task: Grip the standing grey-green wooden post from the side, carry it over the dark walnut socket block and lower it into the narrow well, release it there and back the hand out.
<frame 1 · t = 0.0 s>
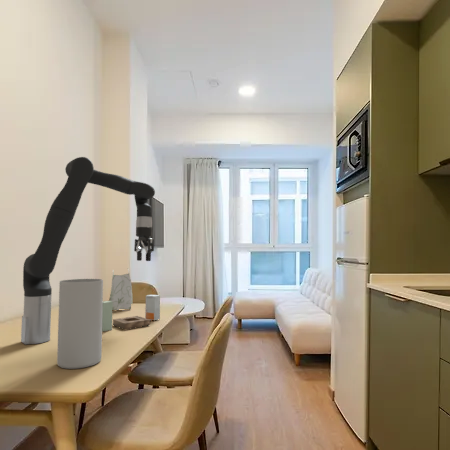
hand: (143, 260, 164), 29 cm above the table, tool pointing down, fingers open, 8 cm apart
grocery bag: (120, 306, 212), on the table
skincare box: (152, 320, 171), on the table
green post: (105, 329, 149), on the table
cylinder vase: (79, 363, 106), on the table
well block: (131, 325, 157), on the table
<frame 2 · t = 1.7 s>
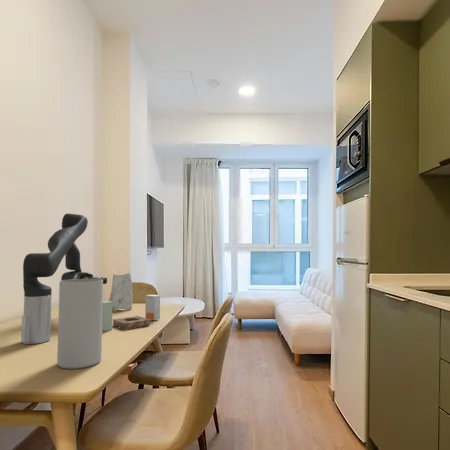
hand: (96, 282, 159), 20 cm above the table, tool horizontal, fingers open, 8 cm apart
nothing on the table moved.
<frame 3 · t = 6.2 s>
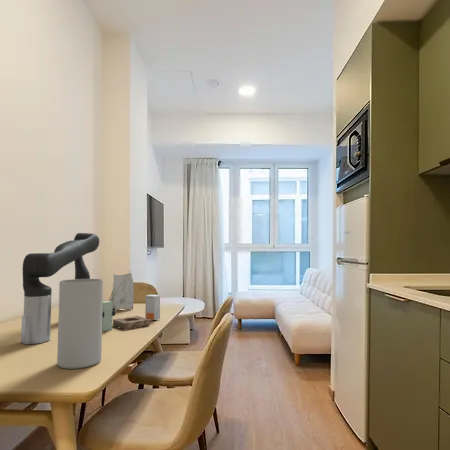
hand: (108, 314, 148), 7 cm above the table, tool horizontal, fingers closed on green post, 4 cm apart
green post: (105, 329, 149), on the table, touching gripper
everything else where it was.
when the fingers open (9 cm above the table, at t = 11.4 s): green post stays where it is, resting on well block.
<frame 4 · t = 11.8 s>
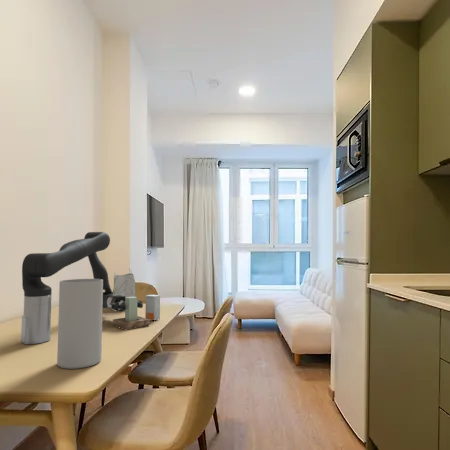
hand: (133, 306, 157), 9 cm above the table, tool horizontal, fingers open, 8 cm apart
green post: (131, 323, 158), point 1 cm above the table, touching well block
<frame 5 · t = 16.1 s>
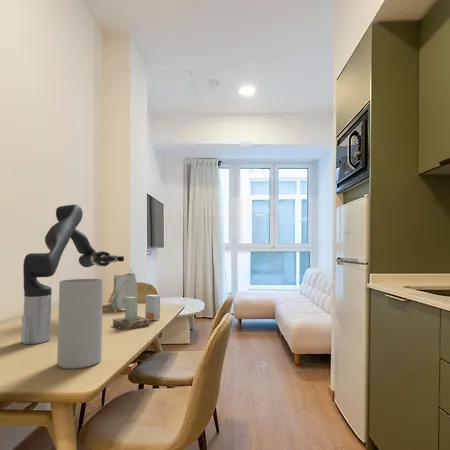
hand: (114, 259, 167), 30 cm above the table, tool horizontal, fingers open, 8 cm apart
at the end: green post 0.1 cm off-centre on the well block, point 0.8 cm above the well block's base; green post tilted 0°; the gripper is holding nothing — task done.
